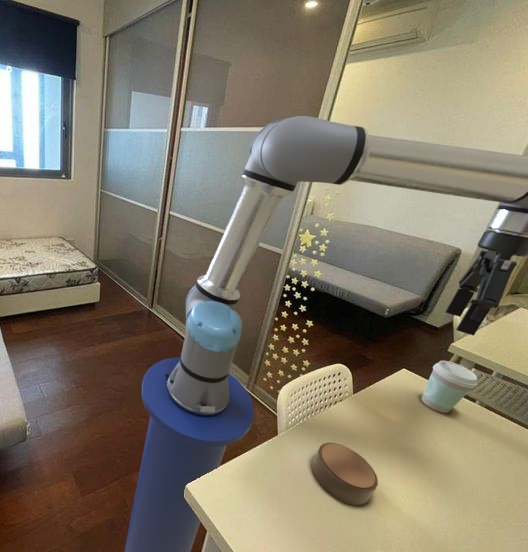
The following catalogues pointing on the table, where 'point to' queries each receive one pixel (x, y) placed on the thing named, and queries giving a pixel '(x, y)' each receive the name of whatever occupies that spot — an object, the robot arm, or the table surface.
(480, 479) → the table surface
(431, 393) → the coffee cup
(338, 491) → the cup stand
